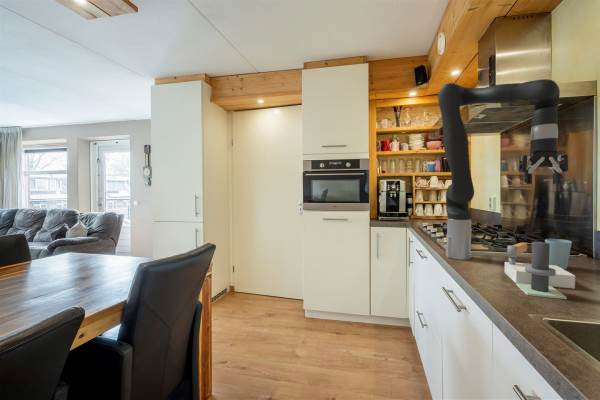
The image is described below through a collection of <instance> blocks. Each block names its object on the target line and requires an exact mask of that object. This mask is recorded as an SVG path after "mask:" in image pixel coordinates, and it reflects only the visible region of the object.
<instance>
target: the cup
mask: <svg viewBox="0 0 600 400" xmlns="http://www.w3.org/2000/svg"><path fill="white" fill-rule="evenodd" d="M544 243H549V265H556V266H558V267H560V268H562V269H564V270H567V268H568V266H569V265H568V264H569V259H570V254H571V248H572V243H573V242H572V241H571V240H567V239H561V238H560V239H559V238H546V239H544Z"/></svg>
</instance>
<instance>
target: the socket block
mask: <svg viewBox="0 0 600 400" xmlns="http://www.w3.org/2000/svg"><path fill="white" fill-rule="evenodd" d="M516 260H517V257H508V261H504V274H506V276H508V278H509V279H511V280H512V281H513V282H514V283H515V284H517V283H519V284H530V285H531V273H528V272H526V271H525V266H527V265H532V263H529V262H528V263H525V262H517V261H516ZM549 268H553V269H555V270H556V275H555V276H549V286H552V287H553V288H555V287H556V288H565V289H574V290H575V289H576V275H574V274H573V273H571V272H570V271H567V269H562V268H560V267H558V266H556V265H549Z"/></svg>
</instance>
